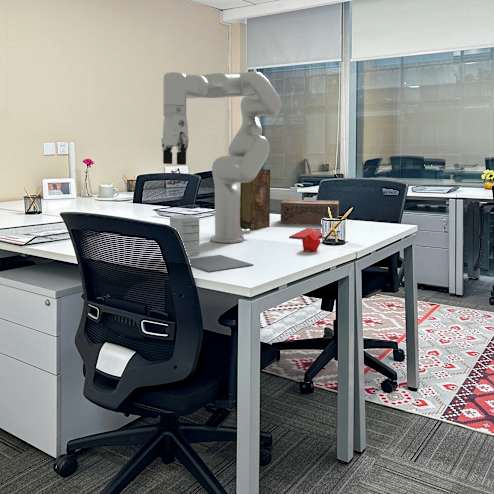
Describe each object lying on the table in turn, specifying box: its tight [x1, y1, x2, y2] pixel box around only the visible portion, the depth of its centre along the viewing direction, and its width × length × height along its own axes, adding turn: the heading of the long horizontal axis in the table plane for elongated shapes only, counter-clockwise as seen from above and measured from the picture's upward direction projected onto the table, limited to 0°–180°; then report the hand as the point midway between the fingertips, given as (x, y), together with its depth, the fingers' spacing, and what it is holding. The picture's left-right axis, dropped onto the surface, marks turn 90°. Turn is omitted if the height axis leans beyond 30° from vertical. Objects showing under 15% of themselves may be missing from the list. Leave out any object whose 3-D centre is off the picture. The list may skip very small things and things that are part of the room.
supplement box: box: [169, 214, 200, 257], centre depth 190 cm, size 7×7×13 cm
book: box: [239, 168, 271, 231], centre depth 249 cm, size 16×6×25 cm, turn 146°
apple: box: [301, 233, 322, 253], centre depth 199 cm, size 7×7×8 cm
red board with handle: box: [288, 227, 322, 240], centre depth 236 cm, size 30×3×15 cm
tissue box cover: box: [280, 199, 340, 226], centre depth 268 cm, size 26×14×10 cm, turn 80°
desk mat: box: [188, 254, 254, 273], centre depth 177 cm, size 16×18×1 cm
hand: (174, 164), depth 192 cm, fingers open, 9 cm apart
